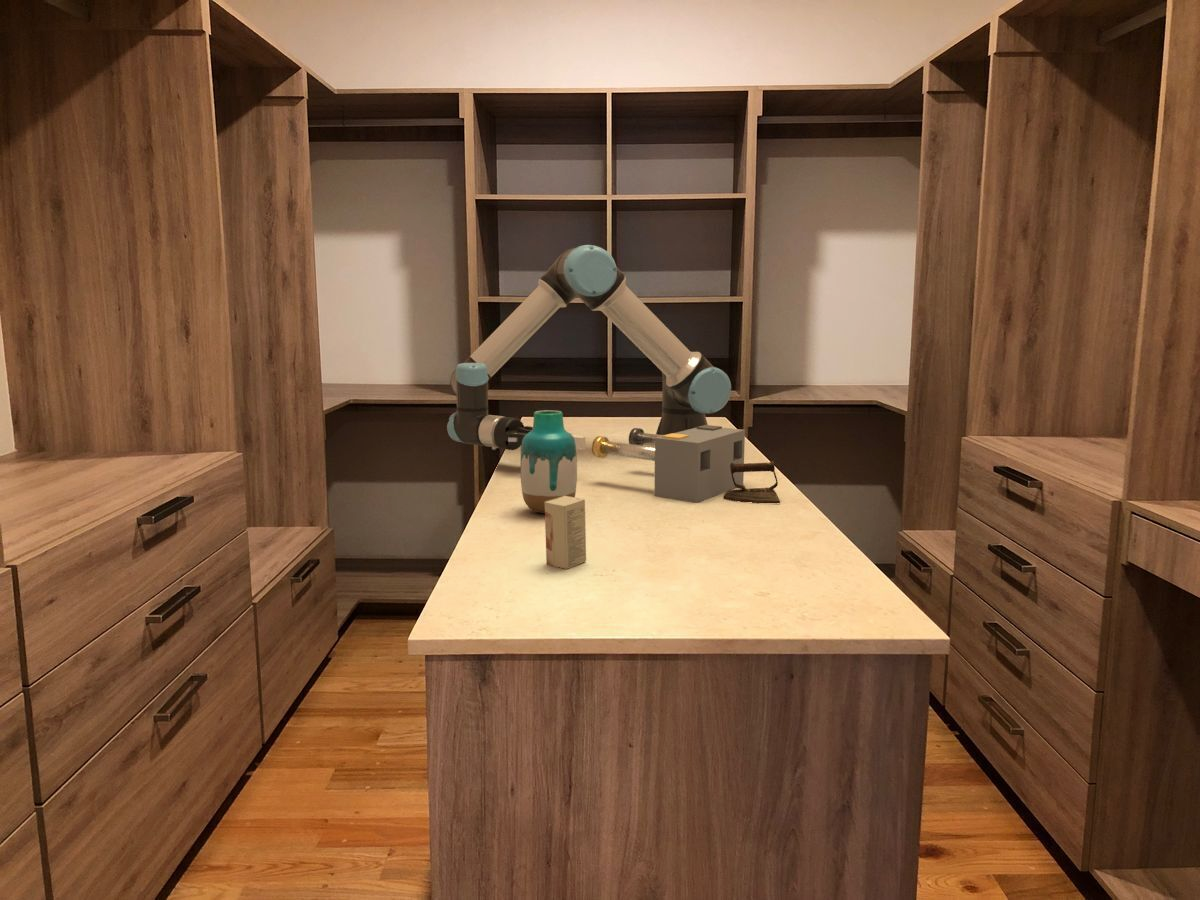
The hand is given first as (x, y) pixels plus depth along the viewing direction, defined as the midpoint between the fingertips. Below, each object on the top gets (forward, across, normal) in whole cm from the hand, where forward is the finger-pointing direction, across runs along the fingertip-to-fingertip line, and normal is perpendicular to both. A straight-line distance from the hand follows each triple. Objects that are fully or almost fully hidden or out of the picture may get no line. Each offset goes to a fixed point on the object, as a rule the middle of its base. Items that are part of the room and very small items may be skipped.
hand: (583, 443), depth 194 cm
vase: (+12, +26, -9) cm, 30 cm away
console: (+26, -7, -8) cm, 28 cm away
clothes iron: (+38, -6, -8) cm, 39 cm away
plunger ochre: (+14, 0, -3) cm, 15 cm away
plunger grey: (+14, -14, -2) cm, 20 cm away
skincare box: (+34, +49, -9) cm, 60 cm away
